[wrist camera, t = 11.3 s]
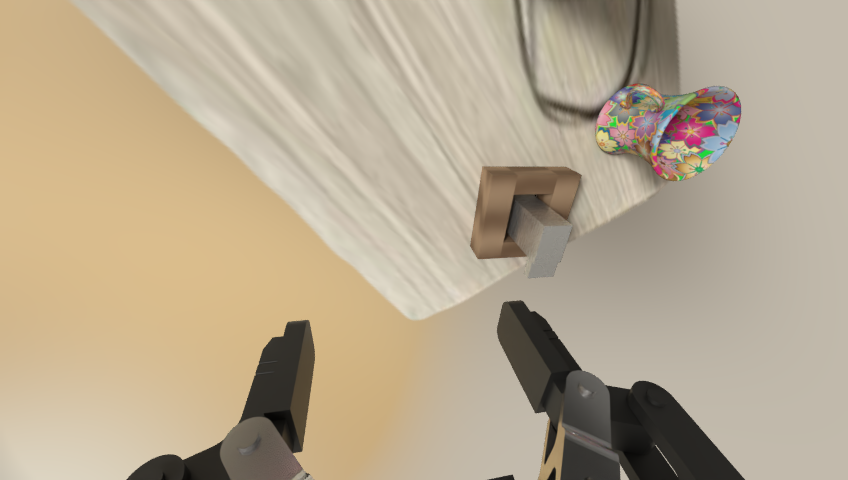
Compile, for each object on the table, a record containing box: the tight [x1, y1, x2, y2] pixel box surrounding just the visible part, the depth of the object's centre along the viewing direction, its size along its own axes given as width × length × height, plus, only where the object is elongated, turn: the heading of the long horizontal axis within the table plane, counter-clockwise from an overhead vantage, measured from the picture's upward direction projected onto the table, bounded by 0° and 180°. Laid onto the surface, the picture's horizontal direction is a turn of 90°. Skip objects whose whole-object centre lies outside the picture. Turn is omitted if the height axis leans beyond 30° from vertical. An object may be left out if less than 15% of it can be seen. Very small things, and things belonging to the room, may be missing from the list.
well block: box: [470, 167, 581, 259], centre depth 43 cm, size 12×12×4 cm
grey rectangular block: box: [506, 194, 573, 278], centre depth 41 cm, size 7×4×10 cm, turn 177°
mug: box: [595, 84, 741, 181], centre depth 35 cm, size 12×9×11 cm
